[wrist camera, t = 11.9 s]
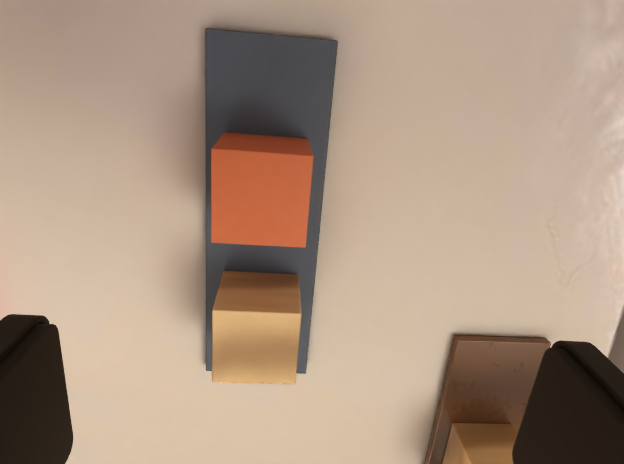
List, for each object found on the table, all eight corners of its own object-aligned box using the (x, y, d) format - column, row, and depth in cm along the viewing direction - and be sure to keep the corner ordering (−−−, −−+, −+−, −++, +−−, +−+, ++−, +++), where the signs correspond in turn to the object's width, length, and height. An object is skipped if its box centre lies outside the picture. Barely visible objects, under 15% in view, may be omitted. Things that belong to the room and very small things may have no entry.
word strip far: (454, 334, 29) (457, 340, 29) (546, 338, 30) (551, 343, 29) (405, 542, 36) (407, 549, 36) (481, 541, 37) (484, 548, 36)
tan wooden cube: (223, 270, 26) (212, 309, 22) (298, 273, 26) (301, 313, 22) (222, 334, 28) (211, 382, 23) (293, 336, 28) (295, 384, 24)
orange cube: (223, 132, 23) (211, 148, 19) (308, 138, 23) (313, 155, 19) (222, 212, 25) (210, 243, 21) (301, 217, 25) (305, 248, 21)
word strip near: (207, 28, 22) (205, 28, 21) (336, 41, 22) (337, 40, 22) (207, 365, 29) (205, 371, 28) (305, 368, 30) (305, 373, 29)
